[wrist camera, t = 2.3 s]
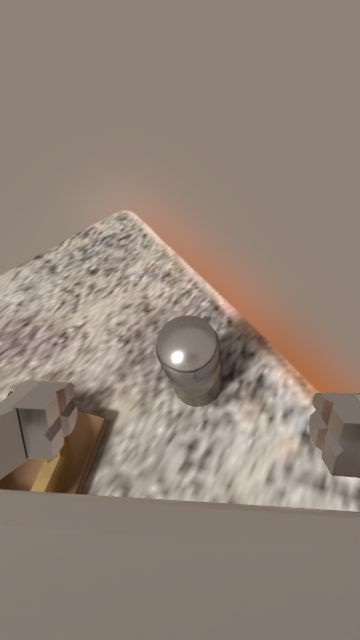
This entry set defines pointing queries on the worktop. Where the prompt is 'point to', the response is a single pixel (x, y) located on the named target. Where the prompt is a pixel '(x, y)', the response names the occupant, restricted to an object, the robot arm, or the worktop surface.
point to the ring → (54, 471)
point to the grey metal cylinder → (191, 359)
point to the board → (84, 451)
